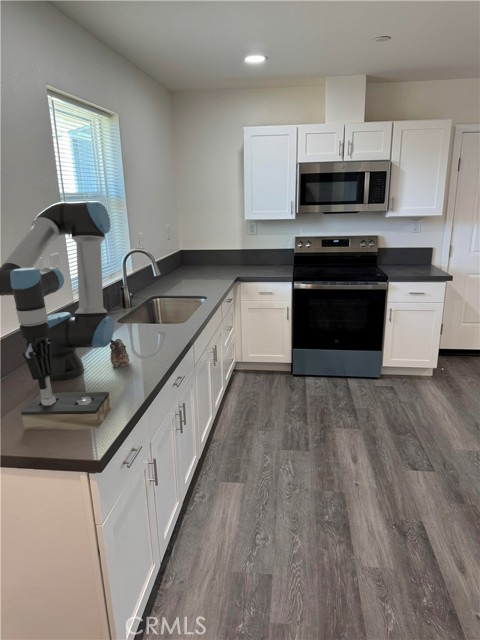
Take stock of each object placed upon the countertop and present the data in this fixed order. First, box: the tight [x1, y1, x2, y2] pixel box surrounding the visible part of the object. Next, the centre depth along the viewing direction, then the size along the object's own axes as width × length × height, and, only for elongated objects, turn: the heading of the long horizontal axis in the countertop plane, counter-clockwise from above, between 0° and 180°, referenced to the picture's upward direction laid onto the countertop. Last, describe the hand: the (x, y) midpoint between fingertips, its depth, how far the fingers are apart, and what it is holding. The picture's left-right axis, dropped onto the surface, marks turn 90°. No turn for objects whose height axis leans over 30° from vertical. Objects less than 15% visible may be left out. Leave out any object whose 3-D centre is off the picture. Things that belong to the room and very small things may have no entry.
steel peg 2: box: [77, 397, 92, 405], centre depth 130 cm, size 4×4×6 cm
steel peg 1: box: [41, 395, 56, 406], centre depth 131 cm, size 4×4×6 cm
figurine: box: [109, 338, 130, 368], centre depth 169 cm, size 7×7×12 cm
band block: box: [20, 391, 112, 431], centre depth 131 cm, size 12×22×6 cm, turn 88°
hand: (47, 397), depth 129 cm, fingers closed
